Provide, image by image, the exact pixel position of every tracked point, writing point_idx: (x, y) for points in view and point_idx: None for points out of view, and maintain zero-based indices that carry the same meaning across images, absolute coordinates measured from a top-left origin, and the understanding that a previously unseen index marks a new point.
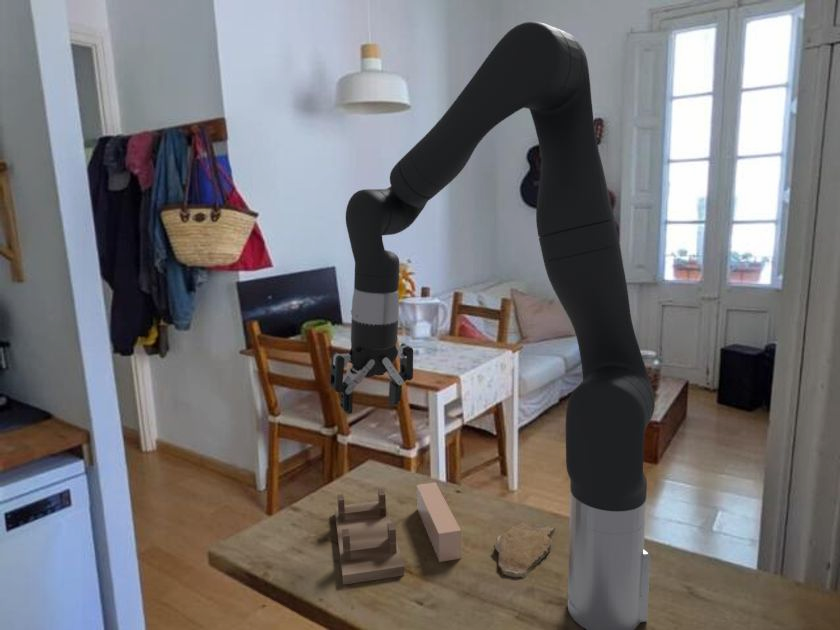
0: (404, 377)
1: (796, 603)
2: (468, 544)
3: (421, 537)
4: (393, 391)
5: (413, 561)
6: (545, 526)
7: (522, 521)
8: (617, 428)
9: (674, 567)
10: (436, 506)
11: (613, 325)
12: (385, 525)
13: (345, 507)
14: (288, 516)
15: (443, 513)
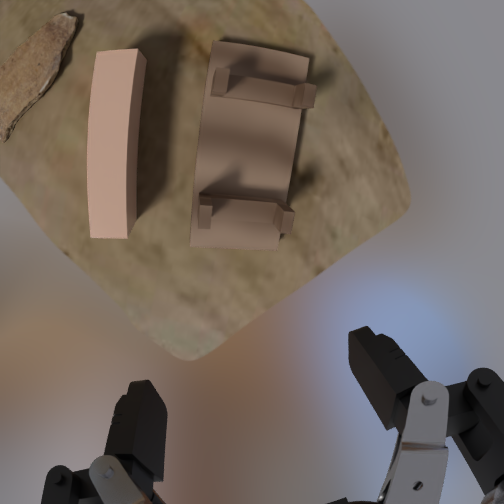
0: (86, 486)
1: None
2: (87, 95)
3: (151, 131)
4: (145, 436)
5: (186, 71)
6: None
7: (3, 135)
8: None
9: None
10: (108, 143)
11: None
12: (207, 162)
13: (270, 222)
14: (334, 257)
15: (103, 114)
